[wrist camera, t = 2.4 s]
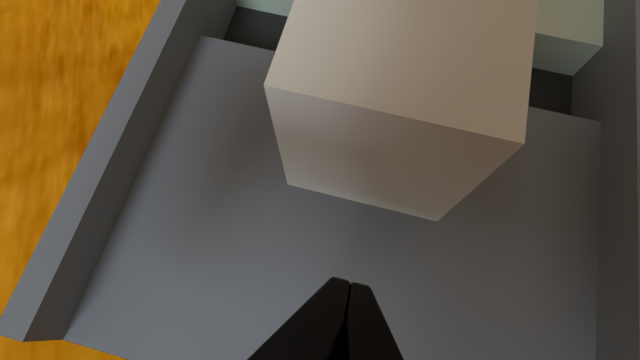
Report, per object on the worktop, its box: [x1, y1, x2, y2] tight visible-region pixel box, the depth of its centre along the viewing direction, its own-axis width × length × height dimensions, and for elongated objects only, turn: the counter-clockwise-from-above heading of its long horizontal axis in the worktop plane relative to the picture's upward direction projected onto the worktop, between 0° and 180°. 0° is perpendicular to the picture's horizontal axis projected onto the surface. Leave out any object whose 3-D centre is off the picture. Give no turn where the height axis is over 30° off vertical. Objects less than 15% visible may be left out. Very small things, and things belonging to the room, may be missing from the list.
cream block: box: [264, 0, 538, 221], centre depth 13 cm, size 6×6×7 cm
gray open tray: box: [0, 0, 640, 360], centre depth 17 cm, size 26×20×5 cm
